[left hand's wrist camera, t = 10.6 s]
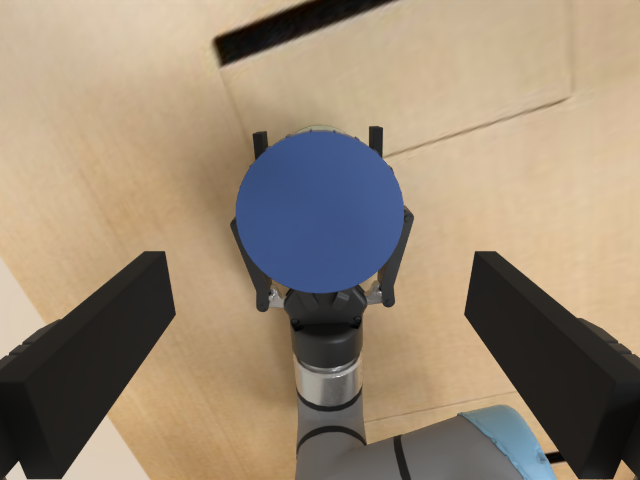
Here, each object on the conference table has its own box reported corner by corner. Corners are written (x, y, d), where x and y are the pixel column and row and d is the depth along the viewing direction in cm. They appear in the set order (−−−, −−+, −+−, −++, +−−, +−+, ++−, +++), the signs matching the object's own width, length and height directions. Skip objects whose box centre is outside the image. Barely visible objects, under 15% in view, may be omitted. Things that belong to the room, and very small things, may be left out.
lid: (311, 90, 20) (310, 88, 18) (430, 202, 23) (441, 211, 21) (211, 216, 23) (201, 227, 21) (327, 304, 25) (327, 321, 23)
